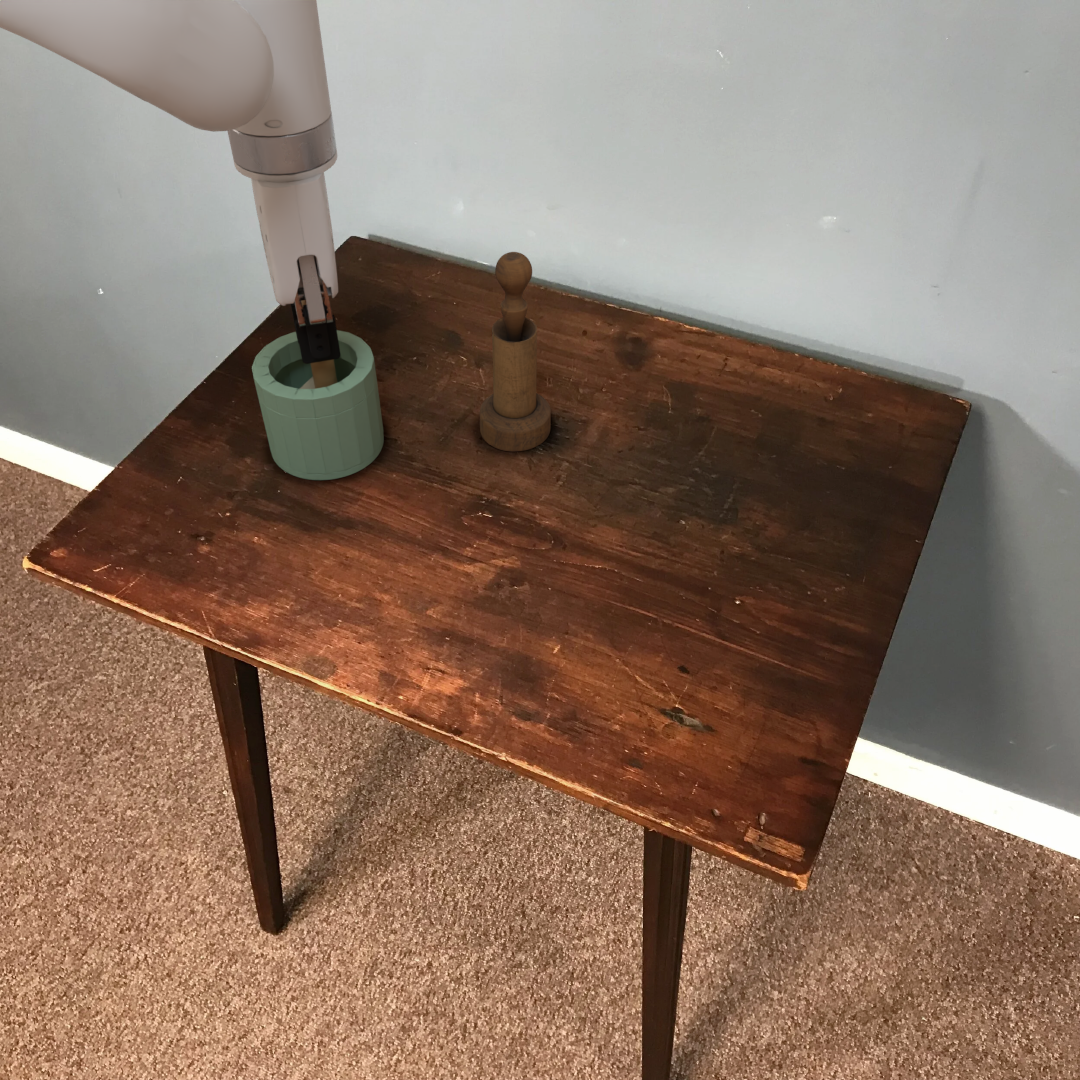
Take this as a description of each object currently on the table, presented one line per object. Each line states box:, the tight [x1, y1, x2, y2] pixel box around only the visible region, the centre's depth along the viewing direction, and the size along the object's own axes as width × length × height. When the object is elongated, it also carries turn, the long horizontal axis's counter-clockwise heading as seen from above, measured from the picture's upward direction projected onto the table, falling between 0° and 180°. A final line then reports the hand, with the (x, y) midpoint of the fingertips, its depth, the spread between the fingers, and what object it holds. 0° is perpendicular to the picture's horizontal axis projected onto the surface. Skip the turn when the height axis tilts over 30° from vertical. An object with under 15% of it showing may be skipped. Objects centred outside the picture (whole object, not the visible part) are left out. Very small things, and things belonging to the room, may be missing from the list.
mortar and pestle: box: [479, 251, 552, 453], centre depth 90 cm, size 7×6×18 cm
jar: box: [251, 329, 385, 481], centre depth 92 cm, size 10×10×9 cm
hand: (319, 349), depth 88 cm, fingers closed
